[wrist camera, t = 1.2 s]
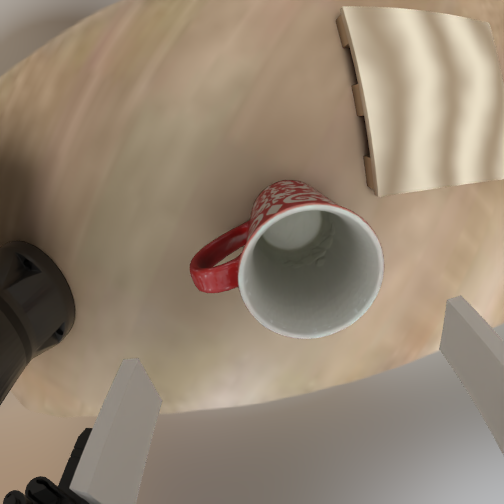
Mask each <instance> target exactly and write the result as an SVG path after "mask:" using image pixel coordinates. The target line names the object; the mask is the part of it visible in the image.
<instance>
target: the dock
mask: <svg viewBox="0 0 504 504" xmlns="http://www.w3.org/2000/svg"><path fill="white" fill-rule="evenodd" d="M340 13H341V15H340V16H339V18H338V19H337V20H336V24H337V27H338V31H339V35H340V38H341V42H342V46H343V48H348V47H350V50H351V54H352V58H353V63H354V67H355V72H356V76H357V81H358V84H356V85H353V86H352V91H353V96H354V101H355V106H356V112H357V116H364V118H365V124H366V130H367V136H368V143H369V150H370V155H368V156H364V163H365V171H366V179H367V186H368V187H370V188H372V189H374V192H375V196H377V197H385V196H391V195H397V194H403V193H410V192H416V191H422V190H429V189H436V188H442V187H449V186H456V185H463V184H471V183H478V182H485V181H493V180H501V179H504V84H503V78H502V73H501V68H500V63H499V58H498V54H497V50H496V46H495V42H494V38H493V34H492V30H491V27H490V24H489V23H488V22H483V21H479V20H475V19H470V18H466V17H460V16H455V15H450V14H444V13H437V12H430V11H422V10H413V9H402V8H388V7H342V8H341V9H340Z"/></svg>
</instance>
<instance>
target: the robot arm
mask: <svg viewBox="0 0 504 504" xmlns="http://www.w3.org/2000/svg"><path fill="white" fill-rule="evenodd" d="M74 317H75V309H74V302H73V298H72V294H71V291H70V289H69V286H68V284H67V282H66V280H65V278H64V277H63V275H62V273H61V272H60V270H59V269H58V268H57V266H56V265H55V264H54V263H53V262H52V260H51V259H50V258H49V257H48V256H47V255H46V254H44V253H43V252H42V251H41V250H39V249H38V248H36V247H35V246H33V245H31V244H28V243H25V242H21V241H12V242H9V243H6V244H5V245H3V246H2V247H0V405H1V403H2V401H3V400H4V399H5V397H6V396H7V394H8V393H9V391H10V390H11V388H12V386H13V385H14V383H15V382H16V380H17V379H18V378H19V376H20V375H21V373H22V372H23V370H24V369H25V367H26V366H27V365H28V363H29V362H30V361H31V359H33V358H35V357H36V356H38V355H40V354H42V353H43V352H45V351H47V350H49V349H50V348H52V347H54V346H56V345H57V344H59V343H60V342H61V341H62V340H63V339H64V338H65V336H66V335H67V334H68V332H69V331H70V329H71V328H72V325H73V322H74ZM439 349H440V351H441V352H442V354H443V355H444V356H445V358H446V360H447V361H448V363H449V364H450V365H451V367H452V368H453V370H454V372H455V373H456V375H457V376H458V378H459V379H460V381H461V383H462V384H463V386H464V387H465V389H466V391H467V392H468V394H469V395H470V397H471V399H472V400H473V402H474V403H475V405H476V407H477V408H478V410H479V412H480V414H481V415H482V417H483V419H484V421H485V422H486V424H487V426H488V428H489V429H490V431H491V433H492V435H493V436H494V438H495V440H496V442H497V444H498V446H499V448H500V449H501V451H502V453H503V455H504V341H503V340H502V339H501V338H500V336H499V335H498V334H497V333H496V332H495V331H494V330H493V329H492V327H491V326H490V325H489V324H488V323H487V322H486V321H485V320H484V319H483V318H482V317H481V316H480V315H479V313H478V312H477V311H476V310H475V309H474V308H473V307H472V306H471V305H470V304H469V303H468V302H467V301H466V300H465V299H464V298H463V297H462V296H458V297H454V298H451V299H448V300H447V304H446V311H445V318H444V325H443V331H442V337H441V343H440V348H439ZM161 403H162V399H161V398H160V396H159V394H158V392H157V391H156V389H155V387H154V385H153V384H152V382H151V380H150V378H149V377H148V375H147V373H146V371H145V369H144V367H143V366H142V364H141V362H140V360H139V358H134V359H123V362H122V364H121V366H120V368H119V370H118V372H117V374H116V377H115V379H114V381H113V383H112V385H111V388H110V390H109V392H108V394H107V396H106V399H105V401H104V403H103V406H102V408H101V410H100V412H99V415H98V417H97V419H96V422H95V424H94V427H93V428H86V429H85V430H84V431H83V432H82V433H81V435H80V436H79V437H78V439H77V442H76V444H75V446H74V449H73V451H72V453H71V458H69V460H68V463H67V465H66V468H65V470H64V473H63V475H62V478H61V480H60V483H59V485H58V487H57V486H56V485H55V484H54V483H53V482H51V481H50V480H49V479H47V478H46V477H41V476H40V477H36V478H34V479H32V480H31V481H30V482H29V484H28V485H27V487H26V490H25V495H24V494H23V493H21V492H20V491H16V490H13V491H11V492H9V493H8V494H7V495H6V496H5V498H4V501H3V504H136V500H137V496H138V492H139V488H140V483H141V479H142V475H143V471H144V467H145V463H146V459H147V456H148V451H149V448H150V444H151V440H152V436H153V433H154V429H155V425H156V421H157V418H158V414H159V410H160V407H161Z"/></svg>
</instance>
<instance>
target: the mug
mask: <svg viewBox="0 0 504 504" xmlns="http://www.w3.org/2000/svg"><path fill="white" fill-rule="evenodd" d="M244 245H245V247H244V249H243V251H242V253H241V254H240V255H239V256H238V257H236V258H235V259H233V260H231V261H229V262H227V263H225V264H222V265H219V266H215V267H213V266H214V265H216V264H217V263H218V262H220V261H221V260H222V259H224V258H225V257H226V256H228V255H230V254H231V253H232V252H234V251H235V250H237V249H239V248H240V247H242V246H244ZM190 274H191V277H192V279H193V282H194V284H195V286H196V287H197V288H198V289H199V290H200V291H202V292H206V293H219V292H223V291H228V290H231V289H233V288H236V287H239V290H240V294H241V297H242V299H243V302H244V304H245V306H246V307H247V309H248V310H249V312H250V313H251V314H252V316H253V317H254V318H255V319H256V320H257V321H258V322H259V323H261V324H262V325H263V326H264V327H266V328H267V329H269V330H271V331H273V332H275V333H277V334H280V335H283V336H286V337H290V338H297V339H313V338H320V337H324V336H328V335H331V334H334V333H336V332H339V331H341V330H343V329H345V328H347V327H348V326H350V325H351V324H353V323H354V322H356V321H357V320H358V319H359V318H360V317H361V316H362V315H363V314H364V313H365V312H366V311H367V310H368V309H369V307H370V306H371V305H372V303H373V302H374V300H375V298H376V296H377V294H378V292H379V290H380V287H381V284H382V280H383V275H384V255H383V251H382V247H381V244H380V242H379V239H378V237H377V235H376V234H375V232H374V231H373V229H372V228H371V227H370V226H369V224H368V223H367V222H366V221H365V220H364V219H363V218H362V217H360V216H359V215H357V214H356V213H354V212H353V211H351V210H349V209H346V208H344V207H341V206H338V205H337V204H336V203H334V202H333V201H331V200H330V199H328V198H327V197H325V196H324V195H322V194H321V193H319V192H318V191H316V190H315V189H313V188H312V187H311V186H309V185H307V184H305V183H302V182H299V181H294V180H285V181H280V182H277V183H274V184H272V185H270V186H269V187H267V188H266V189H265V190H263V191H262V192H261V193H260V195H259V196H258V197H257V199H256V201H255V203H254V205H253V208H252V212H251V218H250V220H249V221H247V222H246V223H244V224H242V225H240V226H238V227H236V228H234V229H232V230H230V231H228V232H227V233H225V234H223V235H221V236H220V237H218V238H217V239H215V240H213V241H212V242H210V243H209V244H207V245H206V246H205V247H203V248H202V249H201V250H200V251H199V252H198V253H197V254H196V255H195V256H194V257H193V259H192V260H191V263H190Z"/></svg>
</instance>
